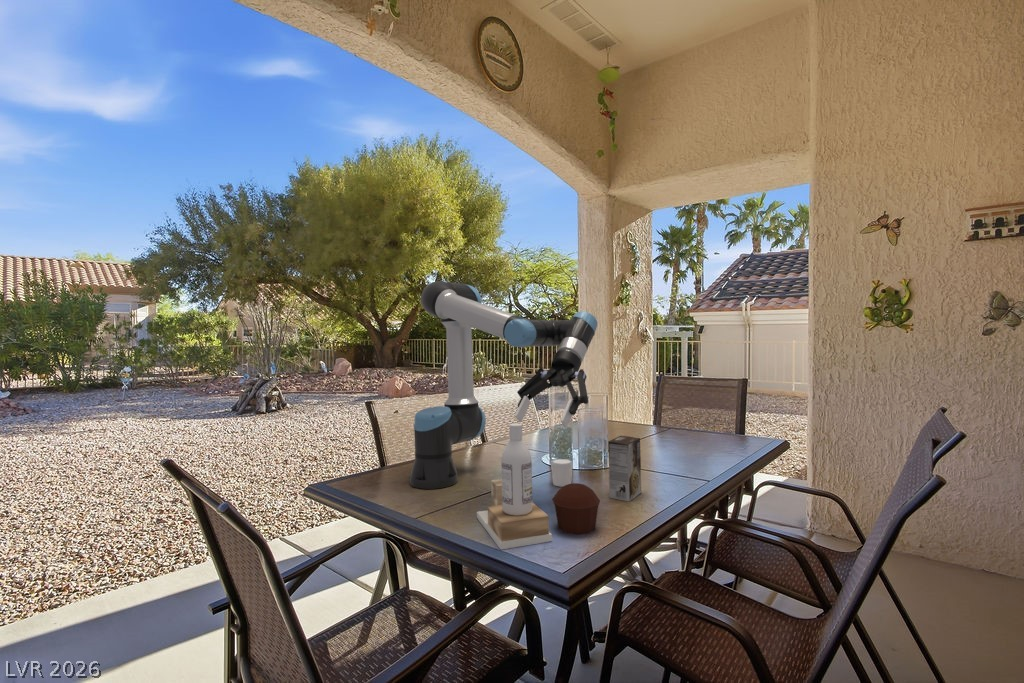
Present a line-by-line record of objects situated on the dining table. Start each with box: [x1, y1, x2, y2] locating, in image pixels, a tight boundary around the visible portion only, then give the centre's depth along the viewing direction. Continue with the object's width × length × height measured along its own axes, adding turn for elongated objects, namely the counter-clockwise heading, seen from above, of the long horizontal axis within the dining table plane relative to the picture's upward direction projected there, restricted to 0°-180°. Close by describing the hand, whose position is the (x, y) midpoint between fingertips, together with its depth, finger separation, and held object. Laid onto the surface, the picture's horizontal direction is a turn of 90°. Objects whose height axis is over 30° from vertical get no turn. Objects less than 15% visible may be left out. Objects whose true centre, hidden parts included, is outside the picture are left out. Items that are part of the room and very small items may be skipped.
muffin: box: [551, 482, 601, 536], centre depth 115 cm, size 12×11×10 cm
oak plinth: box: [487, 501, 550, 541], centre depth 111 cm, size 11×11×4 cm
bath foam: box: [501, 423, 533, 516], centre depth 111 cm, size 7×7×20 cm
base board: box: [476, 509, 553, 550], centre depth 115 cm, size 20×12×2 cm, turn 19°
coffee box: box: [607, 435, 642, 502], centre depth 138 cm, size 9×6×16 cm
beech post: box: [490, 478, 502, 506], centre depth 121 cm, size 5×5×8 cm
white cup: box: [550, 458, 574, 488], centre depth 150 cm, size 7×7×7 cm
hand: (539, 421), depth 120 cm, fingers open, 13 cm apart
